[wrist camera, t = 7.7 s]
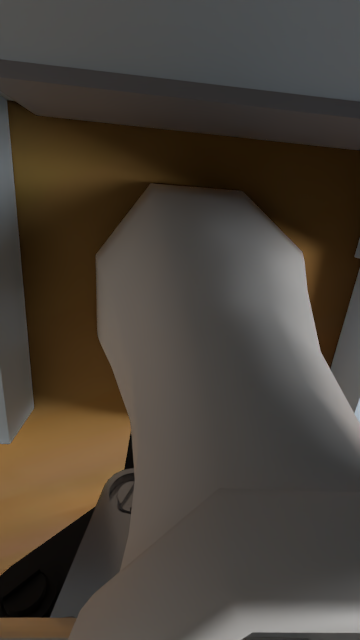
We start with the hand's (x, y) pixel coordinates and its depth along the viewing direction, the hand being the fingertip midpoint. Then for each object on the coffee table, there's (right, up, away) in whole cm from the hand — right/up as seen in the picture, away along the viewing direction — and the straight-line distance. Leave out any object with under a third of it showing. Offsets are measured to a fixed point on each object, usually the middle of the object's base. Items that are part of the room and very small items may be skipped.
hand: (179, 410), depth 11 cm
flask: (+1, +4, 0) cm, 4 cm away
